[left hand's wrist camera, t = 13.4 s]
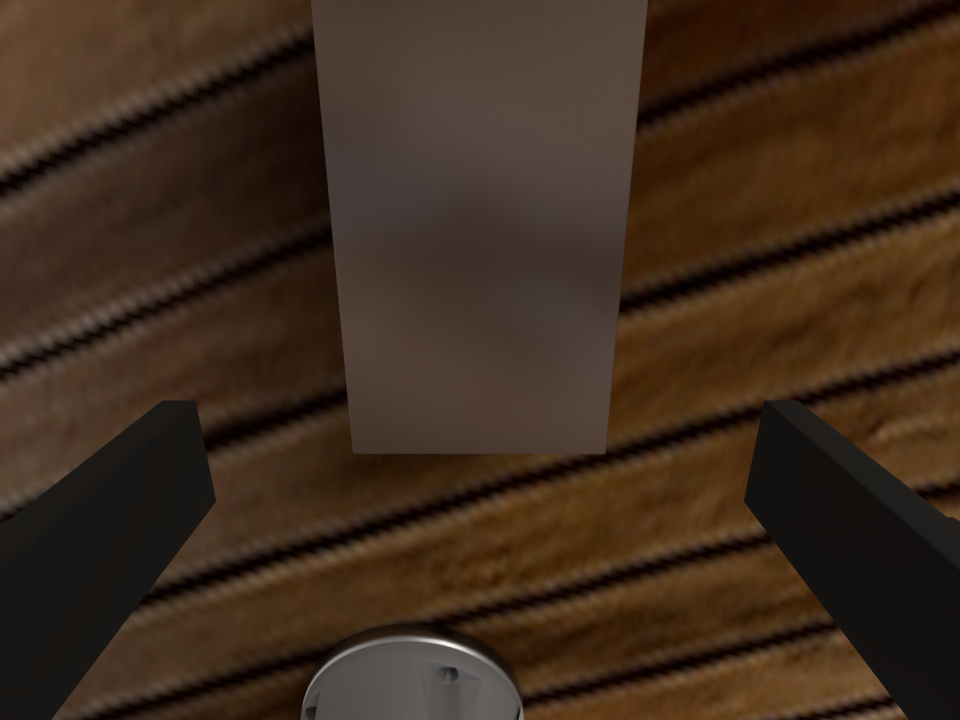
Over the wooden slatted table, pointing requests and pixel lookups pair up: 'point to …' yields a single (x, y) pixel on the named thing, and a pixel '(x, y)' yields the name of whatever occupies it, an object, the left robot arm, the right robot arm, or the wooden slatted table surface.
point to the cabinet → (479, 216)
